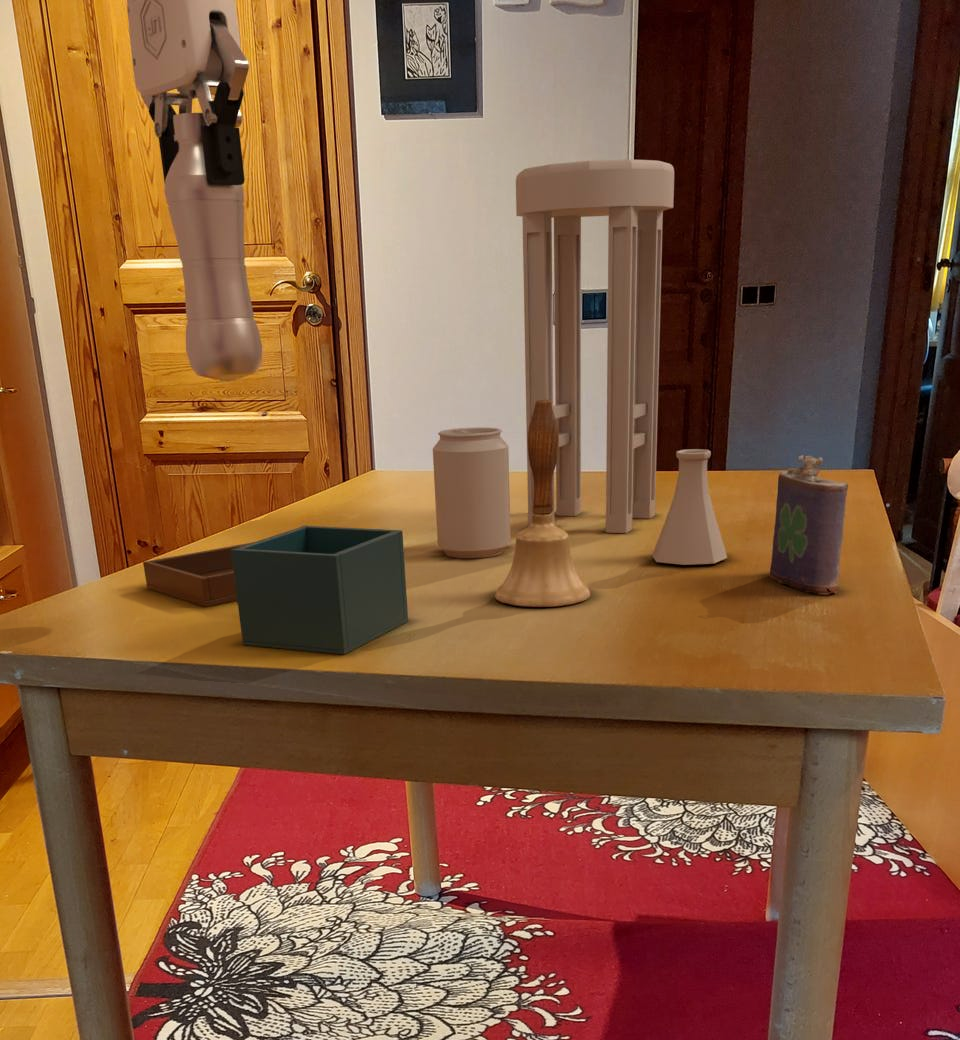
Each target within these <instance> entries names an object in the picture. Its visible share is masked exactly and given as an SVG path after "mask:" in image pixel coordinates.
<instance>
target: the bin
mask: <svg viewBox="0 0 960 1040" xmlns="http://www.w3.org/2000/svg"><path fill="white" fill-rule="evenodd" d="M252 542H253V543H252ZM252 542H249V543H250V544H247V545H244V546H241V547H238V548H235V549H232V550H231V555H232V563H233V570H234V578H235V586H236V594H237V601H236V602H237V607H238V616H239V617H238V618H239V622H240V623H239V625H240V633H241V640H242V643H241V644H242V645H243V646H250V647H251V646H253V647H264V648H271V649H272V648H273V649H284V650H293V651H303V652H304V651H305V652H314V653H315V652H316V653H325V654H334V655H347V654H348V653H350V652H352V651H354V650H356V649H358V648H360V647H361V646H363V645H365V644H368V643H370V642H372V641H373V640H375V639H377V638H379V637H381V636H383V635H385V634H387V633H388V632H390V631H393V630H394V629H396V628H398V627H400V626H402V625H404V624H406V623H408V622H409V612H408V610H409V609H408V596H407V582H406V579H407V578H406V563H405V551H404V549H405V548H404V534H403V530H402V529H383V528H382V529H381V528H362V527H361V528H359V527H342V526H341V527H338V526H322V525H321V526H317V525H302V526H299V527H296V528H293V529H290V530H287V531H284V532H281V533H278V534H274V535H271V536H269V537H265V538H262V539H260V540H257V541H252Z"/></svg>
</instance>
